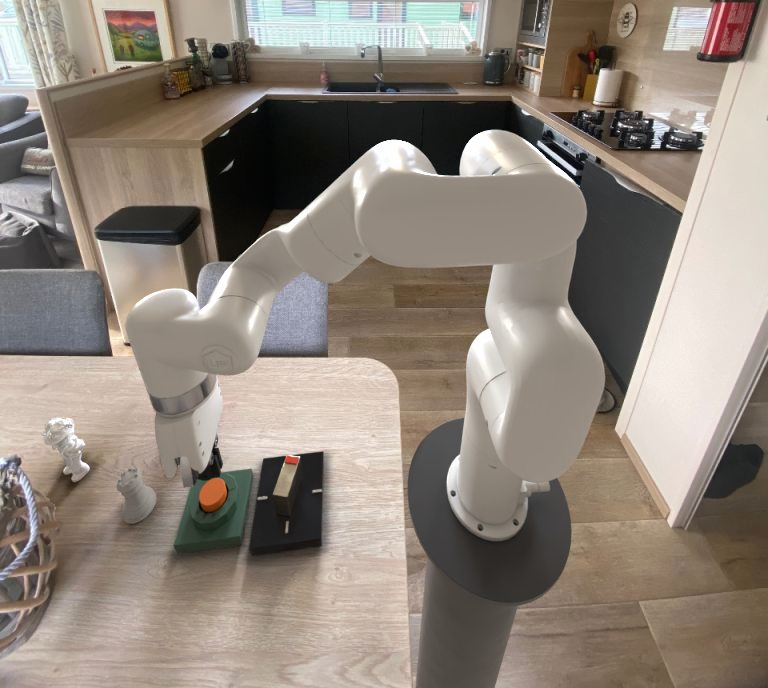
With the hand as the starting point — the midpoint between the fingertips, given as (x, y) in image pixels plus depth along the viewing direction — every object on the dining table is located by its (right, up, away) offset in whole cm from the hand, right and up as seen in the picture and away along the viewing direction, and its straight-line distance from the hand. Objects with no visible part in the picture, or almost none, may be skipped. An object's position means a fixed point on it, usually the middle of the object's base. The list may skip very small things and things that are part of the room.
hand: (210, 472), depth 56 cm
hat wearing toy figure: (-26, -7, +9) cm, 29 cm away
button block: (-1, -9, +4) cm, 10 cm away
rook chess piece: (-13, -9, +4) cm, 16 cm away
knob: (+10, -7, +4) cm, 13 cm away
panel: (+10, -9, +5) cm, 14 cm away
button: (-1, -6, +2) cm, 6 cm away
